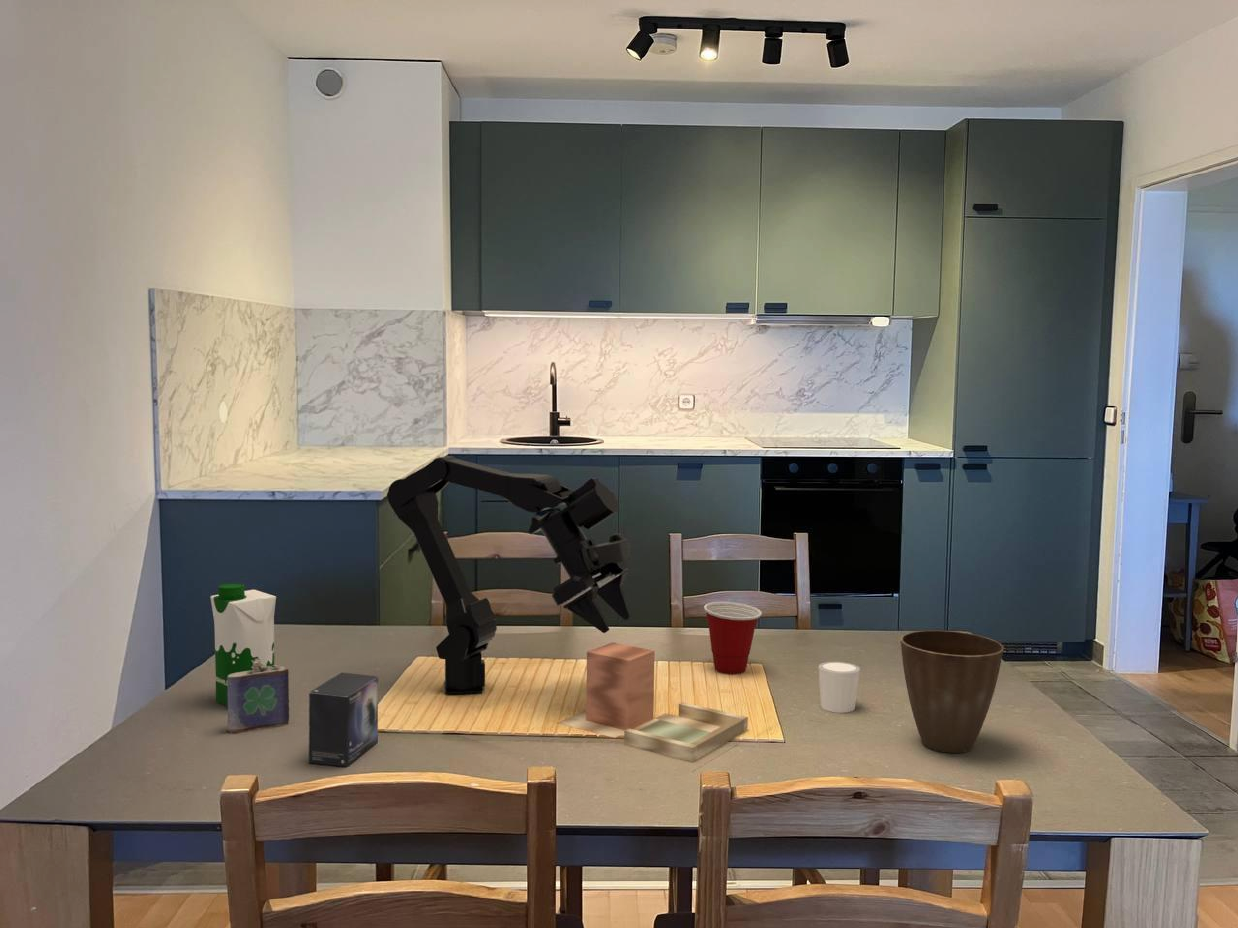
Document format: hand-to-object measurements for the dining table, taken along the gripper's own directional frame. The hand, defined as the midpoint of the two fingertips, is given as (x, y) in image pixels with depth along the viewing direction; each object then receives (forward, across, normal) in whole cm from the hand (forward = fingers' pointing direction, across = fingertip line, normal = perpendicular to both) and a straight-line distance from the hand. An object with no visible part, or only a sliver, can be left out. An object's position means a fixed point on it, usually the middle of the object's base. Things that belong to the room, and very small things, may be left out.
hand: (617, 625), depth 174 cm
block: (+13, -8, +4) cm, 15 cm away
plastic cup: (+18, +31, -1) cm, 36 cm away
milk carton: (-21, -21, +56) cm, 64 cm away
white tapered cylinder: (+31, +18, -19) cm, 40 cm away
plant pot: (+41, +7, -34) cm, 54 cm away
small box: (-4, -33, +33) cm, 47 cm away
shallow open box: (+17, -9, +1) cm, 19 cm away
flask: (-15, -30, +48) cm, 58 cm away
